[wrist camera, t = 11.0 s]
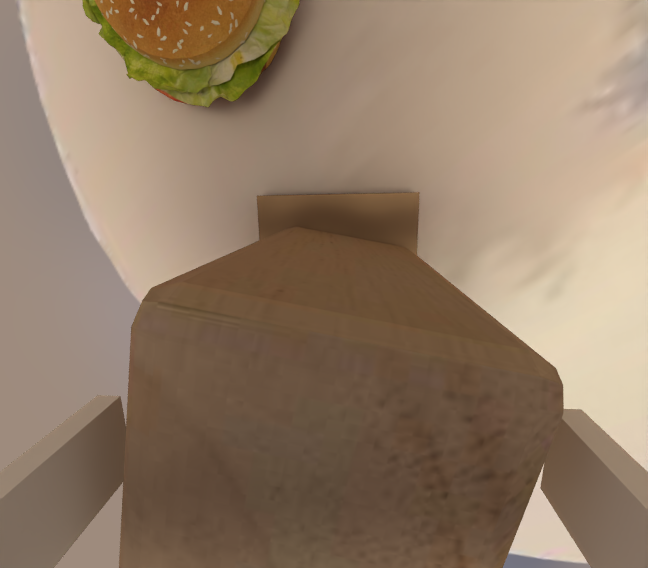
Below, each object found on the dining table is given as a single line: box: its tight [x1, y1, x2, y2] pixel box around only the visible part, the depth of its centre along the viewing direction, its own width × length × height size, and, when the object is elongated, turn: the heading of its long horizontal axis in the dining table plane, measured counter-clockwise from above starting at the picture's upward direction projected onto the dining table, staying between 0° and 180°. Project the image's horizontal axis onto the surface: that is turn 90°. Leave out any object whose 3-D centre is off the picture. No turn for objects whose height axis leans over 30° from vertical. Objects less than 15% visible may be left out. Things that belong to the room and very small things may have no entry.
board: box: [257, 192, 419, 255], centre depth 29 cm, size 16×12×3 cm
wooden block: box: [119, 227, 564, 568], centre depth 18 cm, size 10×10×20 cm
